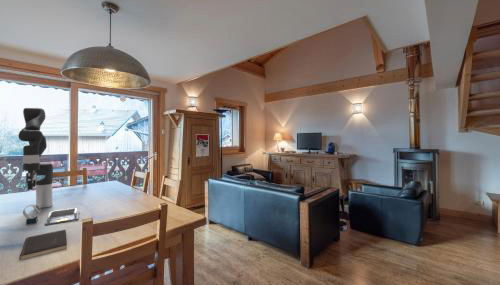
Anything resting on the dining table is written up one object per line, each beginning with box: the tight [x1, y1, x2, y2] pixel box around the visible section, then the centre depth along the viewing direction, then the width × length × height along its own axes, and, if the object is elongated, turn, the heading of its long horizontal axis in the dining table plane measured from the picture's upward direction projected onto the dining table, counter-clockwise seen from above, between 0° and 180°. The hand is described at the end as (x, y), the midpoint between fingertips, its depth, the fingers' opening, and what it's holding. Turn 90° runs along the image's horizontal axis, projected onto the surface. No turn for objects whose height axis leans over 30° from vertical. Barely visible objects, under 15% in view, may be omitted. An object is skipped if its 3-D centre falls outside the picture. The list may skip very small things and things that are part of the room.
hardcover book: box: [19, 229, 68, 260], centre depth 111 cm, size 16×23×2 cm
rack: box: [44, 207, 80, 226], centre depth 146 cm, size 18×16×4 cm
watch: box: [22, 204, 42, 226], centre depth 139 cm, size 6×8×11 cm
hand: (31, 188), depth 138 cm, fingers open, 8 cm apart
